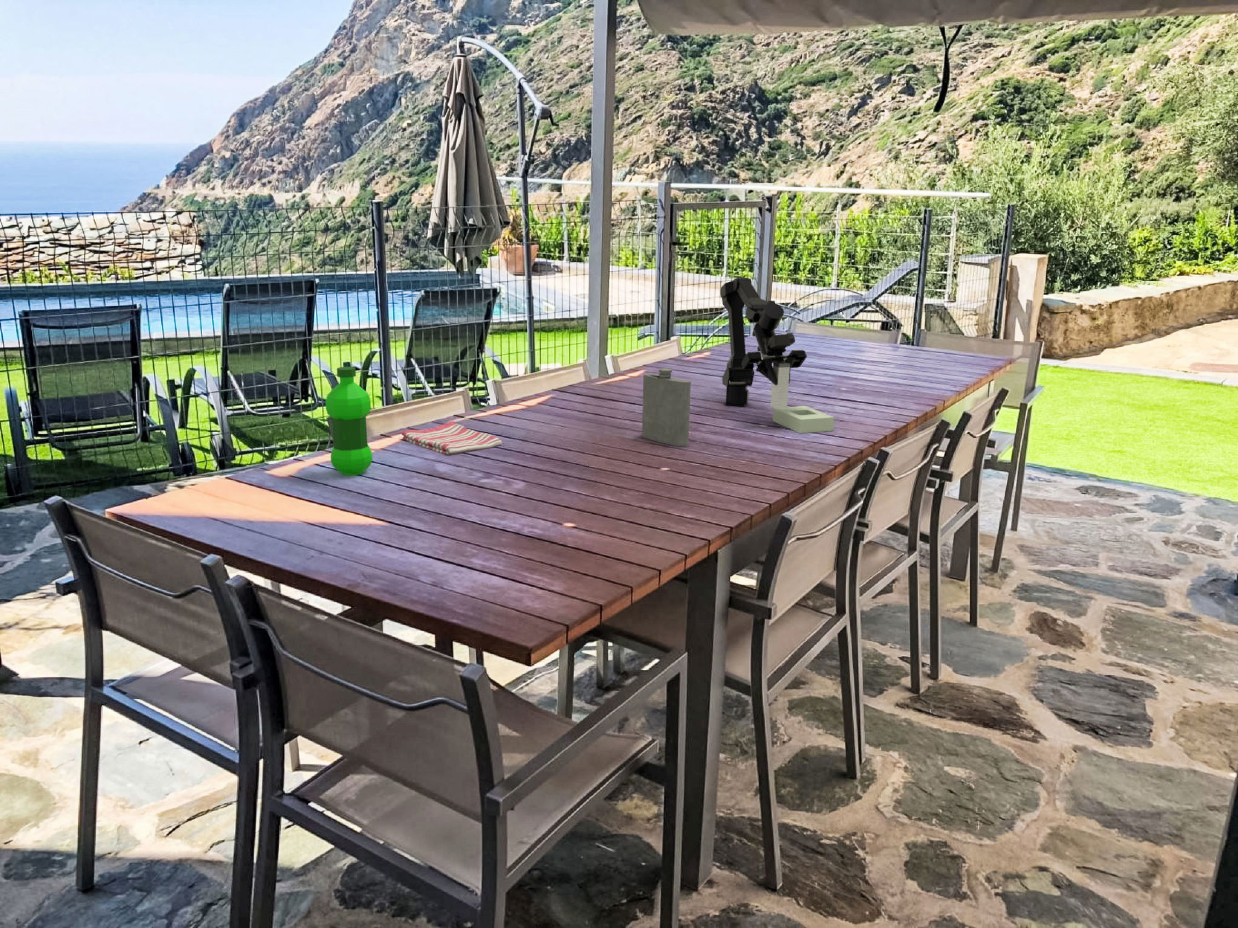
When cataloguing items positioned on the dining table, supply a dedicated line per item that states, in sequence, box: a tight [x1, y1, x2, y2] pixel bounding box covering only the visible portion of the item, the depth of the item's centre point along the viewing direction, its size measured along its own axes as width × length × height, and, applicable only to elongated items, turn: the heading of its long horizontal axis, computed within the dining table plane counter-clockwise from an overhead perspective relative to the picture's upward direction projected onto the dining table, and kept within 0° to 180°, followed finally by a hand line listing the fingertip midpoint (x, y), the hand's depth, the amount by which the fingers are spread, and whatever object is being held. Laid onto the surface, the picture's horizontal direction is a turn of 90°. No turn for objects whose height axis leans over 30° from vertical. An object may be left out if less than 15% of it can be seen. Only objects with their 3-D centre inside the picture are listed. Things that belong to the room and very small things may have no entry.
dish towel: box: [401, 420, 503, 456], centre depth 255 cm, size 17×23×4 cm
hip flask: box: [641, 367, 692, 447], centre depth 259 cm, size 16×4×20 cm, turn 46°
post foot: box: [772, 405, 835, 434], centre depth 281 cm, size 16×11×4 cm
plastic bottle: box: [325, 366, 373, 476], centre depth 224 cm, size 10×10×25 cm
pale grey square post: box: [769, 362, 791, 409], centre depth 275 cm, size 4×4×13 cm
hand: (782, 384), depth 273 cm, fingers closed on pale grey square post, 3 cm apart
